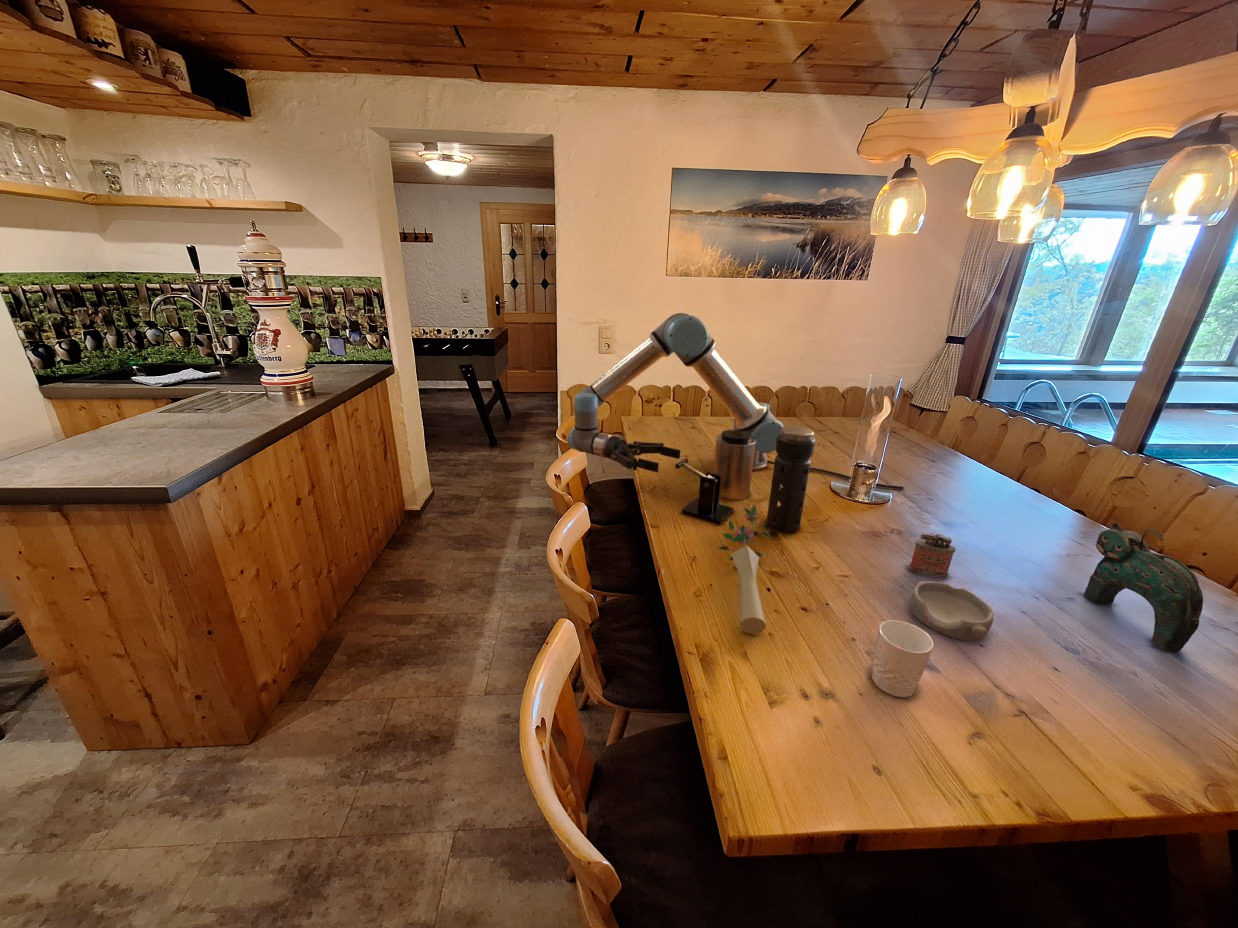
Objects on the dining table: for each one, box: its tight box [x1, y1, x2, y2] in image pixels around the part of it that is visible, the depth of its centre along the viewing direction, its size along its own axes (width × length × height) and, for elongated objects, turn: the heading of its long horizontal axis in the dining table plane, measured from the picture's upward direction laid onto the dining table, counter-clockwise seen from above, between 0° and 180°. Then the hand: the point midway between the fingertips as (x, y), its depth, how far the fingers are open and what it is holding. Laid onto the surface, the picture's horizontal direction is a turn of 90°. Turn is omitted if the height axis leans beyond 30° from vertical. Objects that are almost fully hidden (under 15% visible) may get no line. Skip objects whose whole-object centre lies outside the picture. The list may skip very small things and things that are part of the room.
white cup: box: [870, 619, 935, 698], centre depth 83 cm, size 8×8×10 cm
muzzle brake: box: [765, 425, 816, 534], centre depth 131 cm, size 10×28×10 cm
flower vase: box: [718, 504, 772, 635], centre depth 110 cm, size 12×12×35 cm
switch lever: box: [674, 458, 718, 482], centre depth 142 cm, size 12×6×2 cm, turn 57°
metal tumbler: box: [712, 429, 756, 501], centre depth 154 cm, size 12×12×20 cm
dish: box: [909, 580, 995, 641], centre depth 99 cm, size 14×14×5 cm
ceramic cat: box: [1083, 522, 1204, 652], centre depth 97 cm, size 20×6×20 cm, turn 178°
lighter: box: [908, 532, 956, 579], centre depth 114 cm, size 8×3×10 cm, turn 71°
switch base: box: [681, 471, 735, 526], centre depth 141 cm, size 12×10×12 cm
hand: (669, 460), depth 146 cm, fingers open, 13 cm apart
